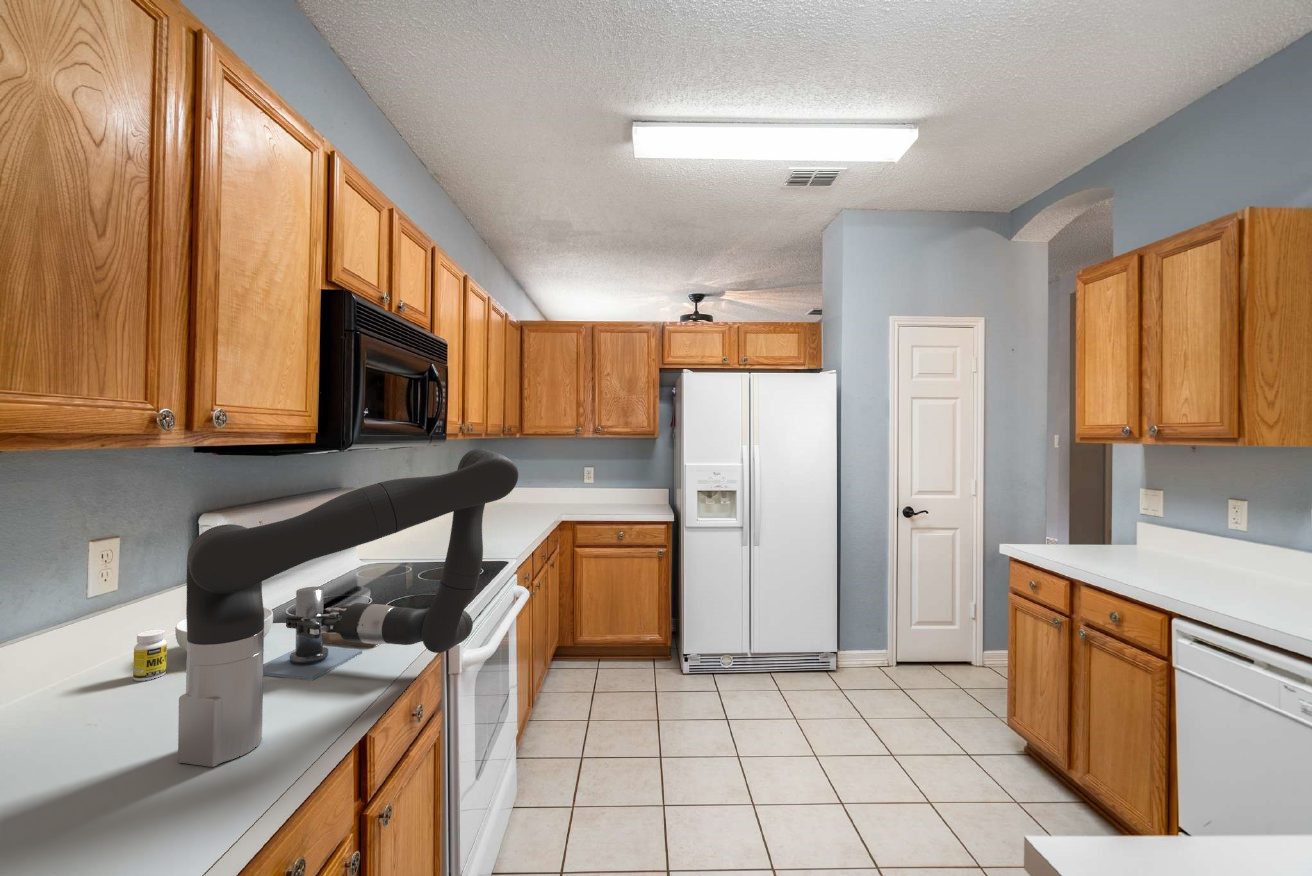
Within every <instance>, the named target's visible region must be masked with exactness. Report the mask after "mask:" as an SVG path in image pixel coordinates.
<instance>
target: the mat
mask: <svg viewBox="0 0 1312 876" xmlns="http://www.w3.org/2000/svg"><path fill="white" fill-rule="evenodd" d="M323 647H326V648H328V656H327V657H326V658H325V659H323V660H320V661H317V662H314V663H309V664H293V663H290V654H291V653H293V652H295V651H296V648H295V649H293V650H291V651H288V652H286V653H284V654H282V655H280V656H277V657H276V658H273V659H271V660H269V661H267V662H265V663H263V676H267V675H268V677H275V678H276V677H278V678H288V679H295V680H303V681H304V680H306V681H314V680H316V679H318V678H319V676H320V677H322V676H323V675H325V674H327V673H328V671H329V672H330V670H331V671H332V670H334V669H336V668H337V666H338V667H339V665H340V666H341V665H343V664H346V663H347V662H349V661H350V660H352V659H355V658H356V657H358V656H359V655H361V654H363V650H362V649H352V648H344V647H343V648H342V647H333V646H332V647H331V646H324V645H323ZM357 655H358V656H357ZM355 656H356V657H355ZM351 658H352V659H351ZM348 660H349V661H348ZM335 667H336V668H335Z"/></svg>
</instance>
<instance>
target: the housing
mask: <svg viewBox="0 0 1312 876" xmlns="http://www.w3.org/2000/svg"><path fill="white" fill-rule="evenodd" d="M325 642H327V643H328V644H337V645H346V644H350V645H349V646H356V647H357V646H360V647H367V646H376V645H378V644H370V643H358V642H348V641H345V640H344V639H343V638H342V637H341V635H340V634H339V633H336V634H329V633H323V643H325ZM378 646H379V645H378ZM376 647H377V646H376Z"/></svg>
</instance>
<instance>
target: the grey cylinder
mask: <svg viewBox="0 0 1312 876" xmlns="http://www.w3.org/2000/svg"><path fill="white" fill-rule="evenodd" d="M295 593H296V594H295V595H296V596H295V597H296V598H295V616H297V617H315V616H316V615H317V614H323V609H324V587H323V586H307V587H302V588H298V589H297V590H295ZM321 620H322V619H320V626H321ZM309 622H313V621H309ZM323 646H324V642H323V633H320V637H319V638H317V639H315V638H310V637H306V636H302V635H298V634H297V629H295V649H296V651H295V652H293V653H291V654H290V663H293V664H309V663H314V662H317V661H320V660H323V659H325V658H326V657H327V656H328V648H326V647H327V646H324V647H323Z"/></svg>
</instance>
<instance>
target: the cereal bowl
mask: <svg viewBox="0 0 1312 876" xmlns="http://www.w3.org/2000/svg"><path fill="white" fill-rule="evenodd" d="M263 608H264V638H265V637H267V635H268V634H269V633H270V631H271V629H272V627H273V622H274V613H273V610H272V609H271V608H267V607H265V606H263ZM175 639H176V643H177V644H178V645H179V647H180V648H181V649H183V650H184V651H185V652H187V617H186V618H184V619H181V620H180V621H178V623H177V624H176V625H175Z"/></svg>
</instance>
